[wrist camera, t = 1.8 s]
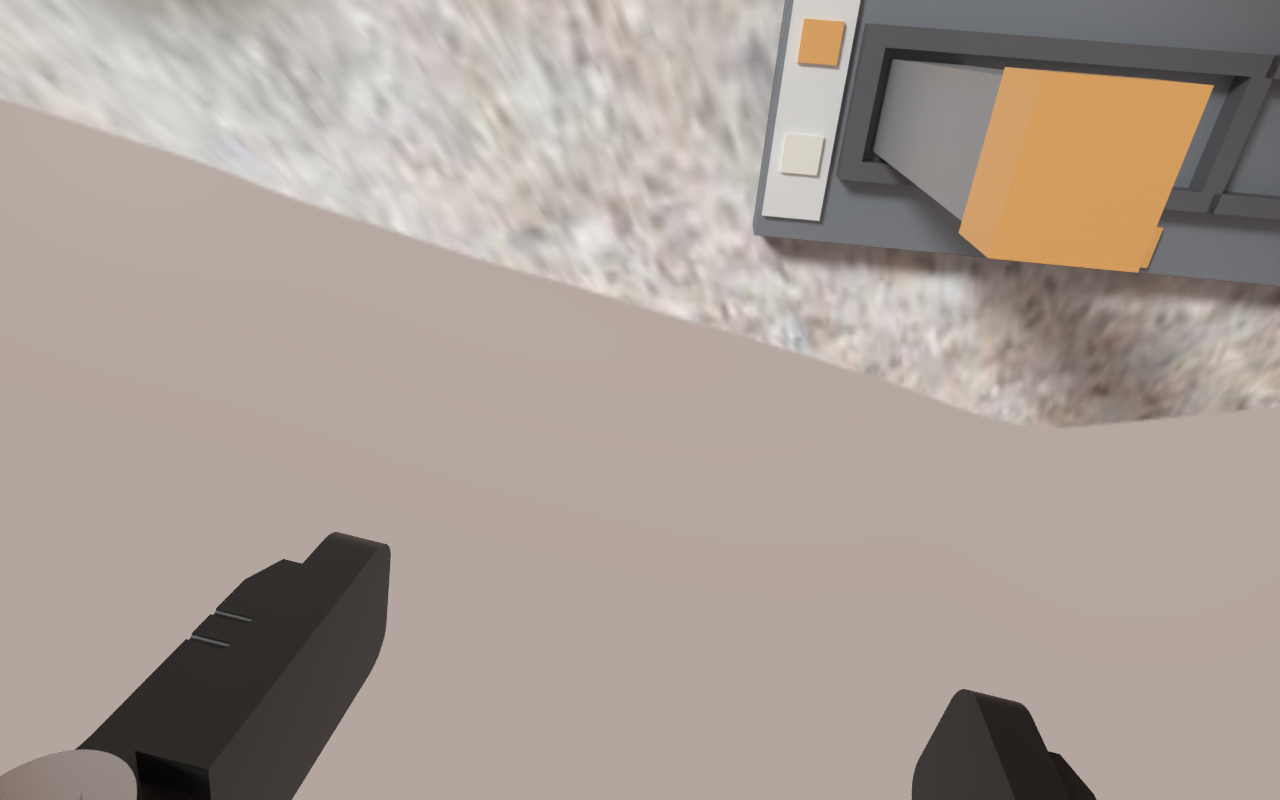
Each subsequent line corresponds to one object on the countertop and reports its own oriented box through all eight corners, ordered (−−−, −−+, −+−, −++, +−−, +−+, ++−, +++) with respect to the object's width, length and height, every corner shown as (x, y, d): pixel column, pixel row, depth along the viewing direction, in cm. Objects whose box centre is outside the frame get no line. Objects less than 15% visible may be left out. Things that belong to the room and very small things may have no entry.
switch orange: (886, 52, 29) (1045, 71, 15) (970, 59, 29) (1214, 85, 15) (865, 154, 31) (988, 258, 17) (944, 161, 31) (1137, 272, 17)
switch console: (794, -64, 30) (801, -73, 27) (1623, -5, 28) (1718, -9, 25) (752, 224, 35) (755, 240, 32) (1440, 290, 33) (1503, 313, 31)
